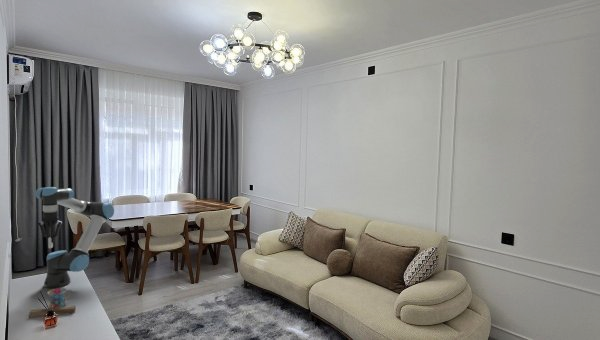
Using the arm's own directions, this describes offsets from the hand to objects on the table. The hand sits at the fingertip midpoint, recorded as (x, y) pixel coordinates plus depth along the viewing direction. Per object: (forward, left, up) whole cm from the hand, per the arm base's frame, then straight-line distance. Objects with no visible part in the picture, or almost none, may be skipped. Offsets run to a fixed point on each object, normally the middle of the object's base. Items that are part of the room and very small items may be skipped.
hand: (50, 247), depth 211 cm
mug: (+18, +11, -33) cm, 39 cm away
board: (+26, +11, -32) cm, 43 cm away
